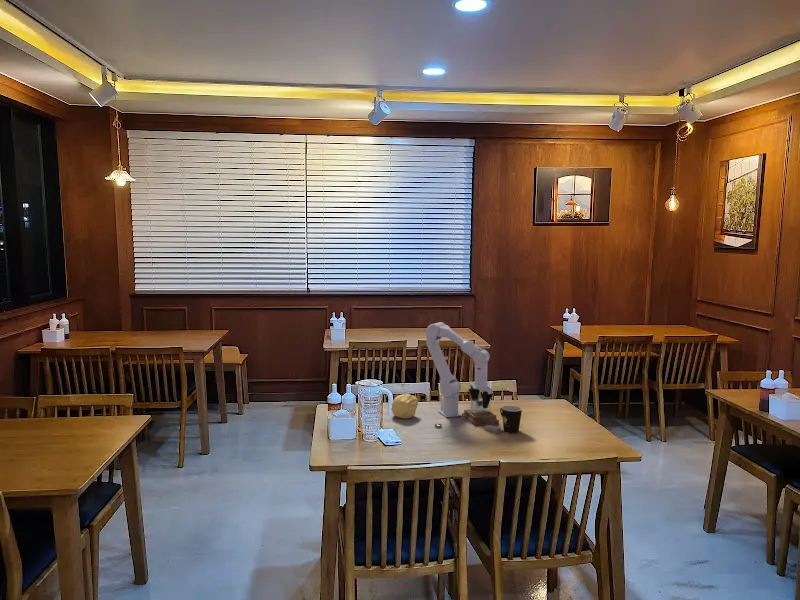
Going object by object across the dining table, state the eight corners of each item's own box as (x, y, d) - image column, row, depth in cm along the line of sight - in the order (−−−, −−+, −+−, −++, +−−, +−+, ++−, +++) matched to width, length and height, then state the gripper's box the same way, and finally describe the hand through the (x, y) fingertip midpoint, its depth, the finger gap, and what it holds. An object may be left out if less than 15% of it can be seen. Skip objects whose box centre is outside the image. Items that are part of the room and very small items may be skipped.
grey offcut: (484, 430, 243) (485, 426, 243) (488, 429, 245) (488, 424, 245) (496, 433, 239) (496, 429, 239) (500, 432, 241) (500, 427, 241)
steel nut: (433, 426, 247) (433, 424, 247) (440, 426, 248) (440, 423, 248) (436, 428, 244) (436, 426, 244) (442, 428, 245) (442, 425, 245)
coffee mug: (523, 434, 238) (524, 411, 237) (503, 434, 238) (503, 411, 236) (517, 425, 249) (518, 403, 248) (498, 425, 249) (498, 403, 248)
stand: (461, 416, 261) (461, 409, 261) (485, 414, 265) (485, 407, 265) (474, 425, 248) (474, 418, 248) (498, 423, 252) (499, 415, 251)
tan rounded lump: (409, 422, 252) (409, 398, 251) (386, 417, 258) (387, 395, 257) (421, 415, 262) (421, 393, 261) (399, 411, 268) (399, 389, 267)
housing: (470, 412, 256) (470, 399, 255) (484, 410, 260) (484, 397, 259) (475, 414, 252) (476, 401, 252) (489, 412, 256) (490, 399, 256)
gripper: (464, 374, 259) (463, 402, 260) (483, 381, 246) (483, 411, 248) (476, 372, 262) (476, 400, 264) (496, 379, 250) (495, 409, 251)
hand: (480, 405), depth 256 cm, fingers open, 7 cm apart
